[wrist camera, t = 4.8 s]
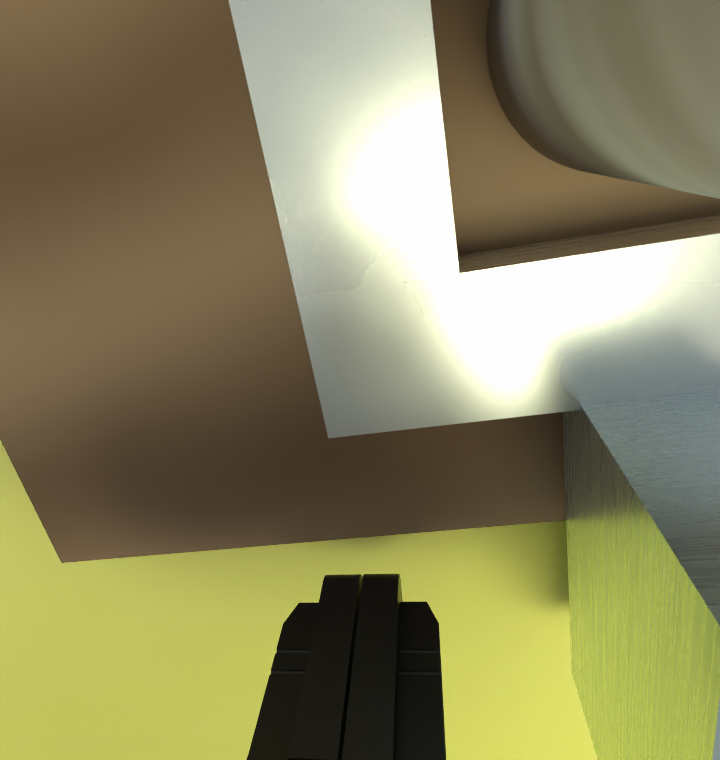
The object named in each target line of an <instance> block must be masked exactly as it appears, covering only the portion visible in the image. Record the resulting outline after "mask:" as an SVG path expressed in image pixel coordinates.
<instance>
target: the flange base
mask: <svg viewBox="0 0 720 760" xmlns="http://www.w3.org/2000/svg"><path fill="white" fill-rule="evenodd" d="M430 3H431V13H432V22H433V31H434V41H435V50H436V59H437V69H438V78H439V87H440V96H441V106H442V115H443V124H444V134H445V143H446V152H447V162H448V171H449V180H450V190H451V199H452V208H453V218H454V227H455V236H456V246H457V255H458V256H461V255H467V254H473V253H480V252H486V251H492V250H498V249H505V248H511V247H517V246H524V245H530V244H536V243H543V242H549V241H555V240H561V239H568V238H574V237H580V236H587V235H593V234H599V233H606V232H612V231H618V230H624V229H631V228H637V227H643V226H650V225H656V224H662V223H669V222H675V221H681V220H687V219H694V218H700V217H706V216H713V215H719V214H720V0H430ZM0 440H1V442H2V444H3V446H4V448H5V450H6V452H7V454H8V456H9V458H10V460H11V462H12V464H13V466H14V468H15V470H16V472H17V474H18V476H19V478H20V480H21V482H22V484H23V486H24V488H25V490H26V492H27V494H28V496H29V498H30V500H31V502H32V504H33V506H34V508H35V510H36V512H37V514H38V516H39V518H40V520H41V522H42V524H43V526H44V528H45V530H46V532H47V534H48V536H49V538H50V540H51V542H52V544H53V546H54V548H55V551H56V553H57V555H58V557H59V559H60V561H61V563H64V562H76V561H88V560H100V559H112V558H123V557H135V556H147V555H159V554H171V553H183V552H195V551H206V550H218V549H230V548H242V547H254V546H266V545H278V544H289V543H301V542H313V541H325V540H337V539H349V538H361V537H372V536H384V535H396V534H408V533H420V532H432V531H444V530H455V529H467V528H479V527H491V526H503V525H515V524H527V523H538V522H550V521H562V520H566V499H565V472H564V445H563V418H562V412H557V413H548V414H539V415H530V416H521V417H513V418H504V419H495V420H486V421H477V422H468V423H460V424H451V425H442V426H433V427H424V428H415V429H406V430H398V431H389V432H380V433H371V434H362V435H353V436H345V437H336V438H328V434H327V430H326V425H325V421H324V417H323V412H322V408H321V404H320V399H319V395H318V390H317V386H316V382H315V377H314V373H313V369H312V364H311V360H310V355H309V351H308V347H307V342H306V338H305V333H304V329H303V325H302V320H301V316H300V312H299V307H298V303H297V298H296V294H295V290H294V285H293V281H292V277H291V272H290V268H289V263H288V259H287V255H286V250H285V246H284V241H283V237H282V233H281V228H280V224H279V220H278V215H277V211H276V206H275V202H274V198H273V193H272V189H271V185H270V180H269V176H268V171H267V167H266V163H265V158H264V154H263V149H262V145H261V141H260V136H259V132H258V128H257V123H256V119H255V114H254V110H253V106H252V101H251V97H250V93H249V88H248V84H247V79H246V75H245V71H244V66H243V62H242V57H241V53H240V49H239V44H238V40H237V36H236V31H235V27H234V22H233V18H232V14H231V9H230V5H229V1H228V0H0Z"/></svg>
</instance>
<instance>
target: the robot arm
mask: <svg viewBox="0 0 720 760" xmlns="http://www.w3.org/2000/svg"><path fill="white" fill-rule="evenodd" d="M247 760H446V748H445V729H444V710H443V692H442V673H441V655H440V638H439V623H438V621H437V620H436V618H435V616H434V614H433V612H432V611H431V609H430V607H429V605H428V603H427V602H403V601H402V590H401V579H400V574H364V575H363V577H362V575H326V576H325V577H324V580H323V585H322V590H321V595H320V600H319V603H299V604H298V605H297V606H296V608H295V609H294V610H293V612H292V613H291V614H290V616H289V617H288V618H287V620H286V621H285V622H284V624H283V627H282V630H281V634H280V638H279V642H278V645H277V653H276V654H275V657H274V661H273V664H272V668H271V675H270V676H269V679H268V683H267V687H266V691H265V694H264V698H263V702H262V706H261V709H260V713H259V717H258V721H257V724H256V728H255V732H254V736H253V739H252V743H251V747H250V751H249V754H248V757H247Z"/></svg>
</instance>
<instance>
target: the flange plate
mask: <svg viewBox="0 0 720 760" xmlns="http://www.w3.org/2000/svg"><path fill="white" fill-rule="evenodd" d="M228 1H229V5H230V9H231V14H232V18H233V22H234V27H235V31H236V36H237V40H238V44H239V49H240V53H241V57H242V62H243V66H244V71H245V75H246V79H247V84H248V88H249V93H250V97H251V101H252V106H253V110H254V114H255V119H256V123H257V128H258V132H259V136H260V141H261V145H262V149H263V154H264V158H265V163H266V167H267V171H268V176H269V180H270V185H271V189H272V193H273V198H274V202H275V206H276V211H277V215H278V220H279V224H280V228H281V233H282V237H283V241H284V246H285V250H286V255H287V259H288V263H289V268H290V272H291V277H292V281H293V285H294V290H295V294H296V298H297V303H298V307H299V312H300V316H301V320H302V325H303V329H304V333H305V338H306V342H307V347H308V351H309V355H310V360H311V364H312V369H313V373H314V377H315V382H316V386H317V390H318V395H319V399H320V404H321V408H322V412H323V417H324V421H325V425H326V430H327V434H328V438H336V437H345V436H353V435H362V434H371V433H380V432H389V431H398V430H406V429H415V428H424V427H433V426H442V425H451V424H460V423H468V422H477V421H486V420H495V419H504V418H513V417H521V416H530V415H539V414H548V413H557V412H562V418H563V445H564V472H565V499H566V526H567V553H568V580H569V607H570V634H571V661H572V674H573V677H574V681H575V684H576V687H577V691H578V694H579V697H580V701H581V704H582V707H583V711H584V714H585V717H586V721H587V724H588V728H589V731H590V734H591V738H592V741H593V744H594V748H595V751H596V754H597V758H598V760H720V214H719V215H713V216H706V217H700V218H694V219H687V220H681V221H675V222H669V223H662V224H656V225H650V226H643V227H637V228H631V229H624V230H618V231H612V232H606V233H599V234H593V235H587V236H580V237H574V238H568V239H561V240H555V241H549V242H543V243H536V244H530V245H524V246H517V247H511V248H505V249H498V250H492V251H486V252H480V253H473V254H467V255H461V256H458V255H457V246H456V236H455V227H454V218H453V208H452V199H451V190H450V180H449V171H448V162H447V152H446V143H445V134H444V124H443V115H442V106H441V96H440V87H439V78H438V69H437V59H436V50H435V41H434V31H433V22H432V13H431V3H430V0H228Z"/></svg>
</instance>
